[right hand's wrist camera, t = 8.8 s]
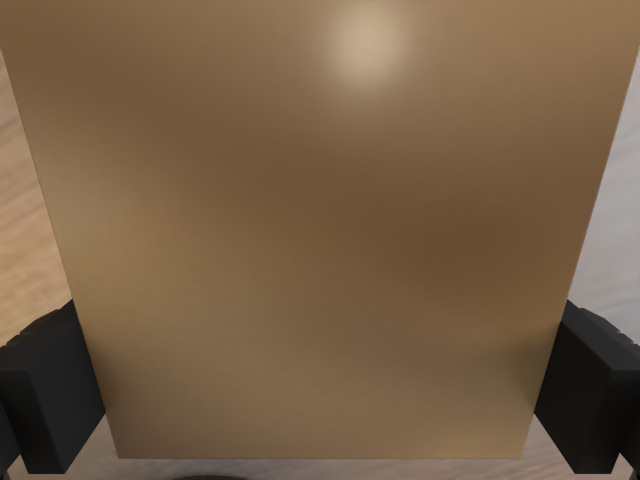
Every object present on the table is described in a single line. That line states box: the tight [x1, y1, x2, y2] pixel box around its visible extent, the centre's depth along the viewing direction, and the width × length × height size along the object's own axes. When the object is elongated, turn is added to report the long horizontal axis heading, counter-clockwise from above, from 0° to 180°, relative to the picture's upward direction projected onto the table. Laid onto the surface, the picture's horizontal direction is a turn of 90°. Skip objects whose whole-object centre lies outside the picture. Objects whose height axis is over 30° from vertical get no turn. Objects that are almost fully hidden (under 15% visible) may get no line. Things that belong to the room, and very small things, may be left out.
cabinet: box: [0, 0, 640, 459], centre depth 12 cm, size 17×11×11 cm, turn 0°
